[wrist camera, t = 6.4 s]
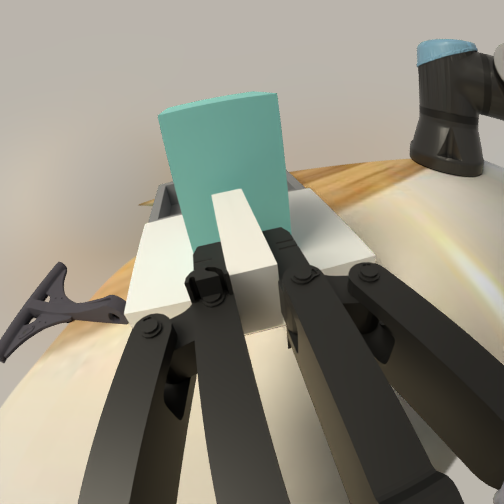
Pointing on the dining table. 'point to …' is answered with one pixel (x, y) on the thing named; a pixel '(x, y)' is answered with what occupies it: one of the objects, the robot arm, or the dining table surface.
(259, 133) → the block
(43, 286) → the bracket
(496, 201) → the dining table surface
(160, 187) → the tray
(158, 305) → the white flat box
